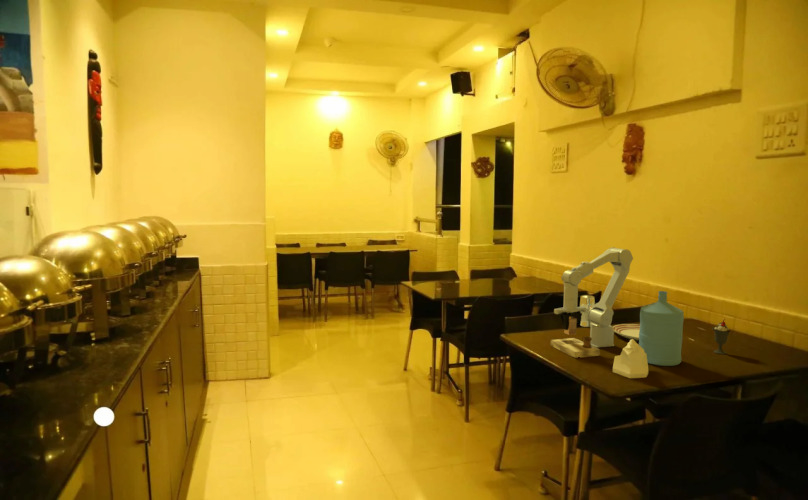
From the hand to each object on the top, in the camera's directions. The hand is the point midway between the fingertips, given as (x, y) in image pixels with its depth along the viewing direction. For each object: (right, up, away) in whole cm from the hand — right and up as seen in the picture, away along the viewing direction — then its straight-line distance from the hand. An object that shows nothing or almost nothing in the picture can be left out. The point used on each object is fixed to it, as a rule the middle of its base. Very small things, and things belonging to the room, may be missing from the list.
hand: (569, 329), depth 224 cm
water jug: (+31, -10, -16) cm, 36 cm away
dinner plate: (+40, -7, +17) cm, 44 cm away
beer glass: (+21, -4, +38) cm, 43 cm away
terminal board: (+1, -9, -3) cm, 9 cm away
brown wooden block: (0, -2, 0) cm, 2 cm away
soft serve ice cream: (+14, -12, -30) cm, 35 cm away
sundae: (+61, -9, -6) cm, 62 cm away
